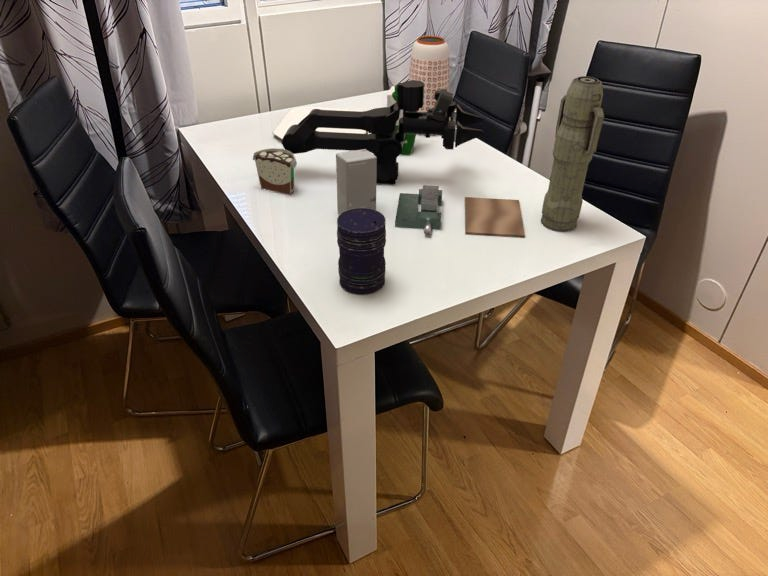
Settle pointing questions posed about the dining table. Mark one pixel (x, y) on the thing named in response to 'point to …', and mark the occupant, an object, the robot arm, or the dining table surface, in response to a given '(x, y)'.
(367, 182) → the skincare box
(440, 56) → the planter
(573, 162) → the thermos
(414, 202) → the green base
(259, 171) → the food container
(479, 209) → the walnut mat
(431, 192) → the steel bar
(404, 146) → the milk carton
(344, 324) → the dining table surface
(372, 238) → the storage jar
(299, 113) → the plate
